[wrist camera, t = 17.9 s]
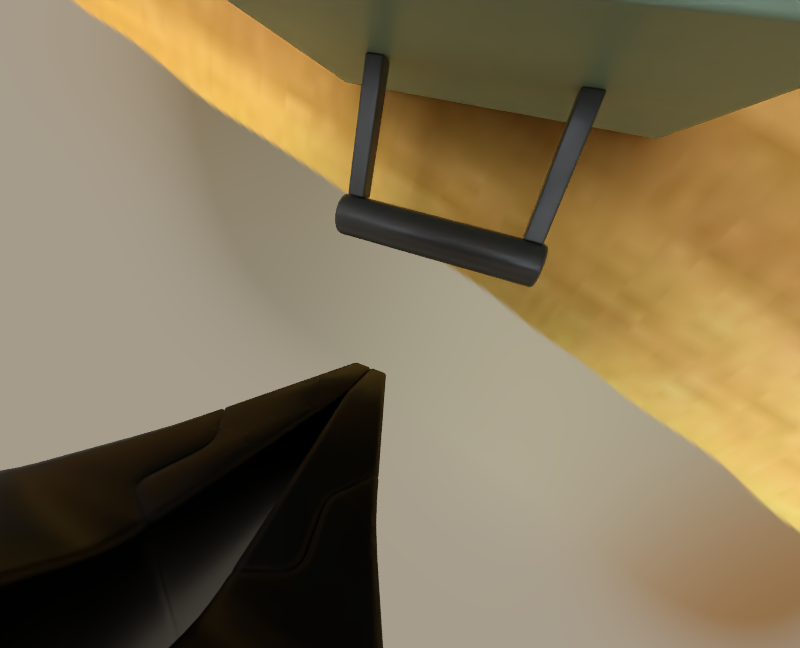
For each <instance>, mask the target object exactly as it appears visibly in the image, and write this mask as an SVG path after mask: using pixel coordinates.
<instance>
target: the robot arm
mask: <svg viewBox="0 0 800 648" xmlns="http://www.w3.org/2000/svg"><path fill="white" fill-rule="evenodd" d="M385 378H386V375H385V373H383V372H380V371H377V370H375V369H369V367H367V366H364V365H361V364H359V363H353V364H351V365H347V366H344V367H342V368H339V369H336V370H333V371H330V372H327V373H324V374H321V375H319V376H316V377H313V378H310V379H307V380H304V381H301V382H299V383H296V384H292V385H290V386H287V387H284V388H281V389H278V390H275V391H272V392H269V393H267V394H264V395H261V396H258V397H255V398H252V399H249V400H246V401H244V402H241V403H238V404H235V405H232V406H229V407H227V408H225V411H224V410H223V409H220V410H217V411H214V412H212V413H208V414H206V415H203V416H200V417H197V418H193V419H190V420H187V421H184V422H181V423H178V424H175V425H172V426H168V427H165V428H162V429H158V430H155V431H151V432H148V433H144V434H141V435H137V436H134V437H131V438H127V439H123V440H119V441H116V442H112V443H108V444H105V445H101V446H97V447H94V448H90V449H87V450H83V451H79V452H75V453H72V454H68V455H64V456H61V457H57V458H53V459H50V460H46V461H42V462H39V463H35V464H31V465H26V466H22V467H18V468H12V469H7V470H2V471H0V648H383V641H382V625H381V609H380V595H379V579H378V563H377V539H376V538H377V537H376V512H377V490H378V474H379V460H380V447H381V432H382V420H383V406H384V392H385Z"/></svg>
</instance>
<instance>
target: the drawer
mask: <svg viewBox="0 0 800 648" xmlns="http://www.w3.org/2000/svg"><path fill="white" fill-rule="evenodd" d="M228 1H229V2H231V3H232V4H234V5H235V6H236V7H238V8H239V9H241V10H242V11H244V12H245V13H247V14H248V15H249V16H251V17H252V18H254V19H255V20H257V21H258V22H260V23H261V24H263V25H264V26H265V27H267V28H268V29H270V30H271V31H273V32H274V33H276V34H277V35H279V36H280V37H281V38H283V39H284V40H286V41H287V42H289V43H290V44H292V45H293V46H294V47H296V48H297V49H299V50H300V51H302V52H303V53H305V54H306V55H308V56H309V57H310V58H312V59H313V60H315V61H316V62H318V63H319V64H321V65H322V66H323V67H325V68H326V69H328V70H329V71H331V72H332V73H334V74H335V75H337V76H338V77H339V78H341V79H342V80H344V81H345V82H348V83H354V84H359V85H362V87H361V95H360V103H359V111H358V120H357V128H356V136H355V144H354V152H353V161H352V169H351V177H350V185H349V194H345V195H344V196H343V197H342V198H341V199H340V201H339V203H338V206H337V210H336V216H335V223H336V227H337V230H338V231H339V232H340V233H342V234H345V235H349V236H353V237H356V238H359V239H364V240H367V241H370V242H373V243H377V244H380V245H384V246H388V247H391V248H394V249H398V250H401V251H405V252H408V253H412V254H415V255H419V256H422V257H426V258H429V259H433V260H436V261H440V262H443V263H447V264H450V265H454V266H457V267H461V268H464V269H468V270H471V271H475V272H478V273H482V274H485V275H489V276H492V277H496V278H499V279H503V280H506V281H510V282H513V283H517V284H520V285H523V286H527V287H532V286H533V285H534V284H535V283H536V281H537V280H538V278H539V276H540V274H541V271H542V269H543V266H544V264H545V261H546V257H547V253H548V246H547V245H546V244H543V243H544V241H545V239H546V237H547V234H548V232H549V229H550V227H551V224H552V222H553V220H554V217H555V215H556V212H557V210H558V208H559V205H560V203H561V200H562V198H563V195H564V193H565V191H566V188H567V186H568V183H569V181H570V179H571V176H572V174H573V171H574V169H575V166H576V164H577V162H578V159H579V157H580V154H581V152H582V150H583V147H584V145H585V142H586V140H587V137H588V135H589V133H590V130H591V128H592V127H594V128H600V129H605V130H611V131H616V132H622V133H627V134H633V135H638V136H643V137H649V138H654V139H658V138H661V137H664V136H667V135H669V134H672V133H675V132H678V131H681V130H683V129H686V128H689V127H692V126H695V125H697V124H700V123H703V122H706V121H709V120H711V119H714V118H717V117H720V116H723V115H726V114H728V113H731V112H734V111H737V110H740V109H742V108H745V107H748V106H751V105H754V104H756V103H759V102H762V101H765V100H768V99H770V98H773V97H776V96H779V95H782V94H784V93H787V92H790V91H793V90H796V89H799V88H800V0H228ZM386 90H392V91H397V92H403V93H408V94H414V95H419V96H425V97H430V98H436V99H441V100H447V101H452V102H458V103H463V104H468V105H474V106H479V107H485V108H490V109H496V110H501V111H507V112H512V113H518V114H523V115H529V116H534V117H540V118H545V119H550V120H556V121H561V122H566V125H565V127H564V130H563V133H562V135H561V138H560V140H559V143H558V146H557V148H556V151H555V154H554V156H553V159H552V161H551V164H550V167H549V169H548V172H547V175H546V177H545V180H544V183H543V185H542V188H541V190H540V193H539V196H538V198H537V201H536V204H535V206H534V209H533V211H532V214H531V217H530V219H529V222H528V225H527V227H526V230H525V233H524V235H523V238H524V239H523V238H519V237H515V236H511V235H508V234H504V233H500V232H496V231H492V230H488V229H484V228H480V227H477V226H473V225H469V224H465V223H461V222H457V221H453V220H449V219H446V218H442V217H438V216H434V215H430V214H426V213H422V212H418V211H415V210H411V209H407V208H403V207H399V206H395V205H391V204H387V203H384V202H380V201H376V200H372V199H368V198H369V196H370V191H371V184H372V178H373V171H374V165H375V158H376V151H377V145H378V138H379V131H380V125H381V118H382V112H383V105H384V98H385V92H386Z"/></svg>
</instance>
